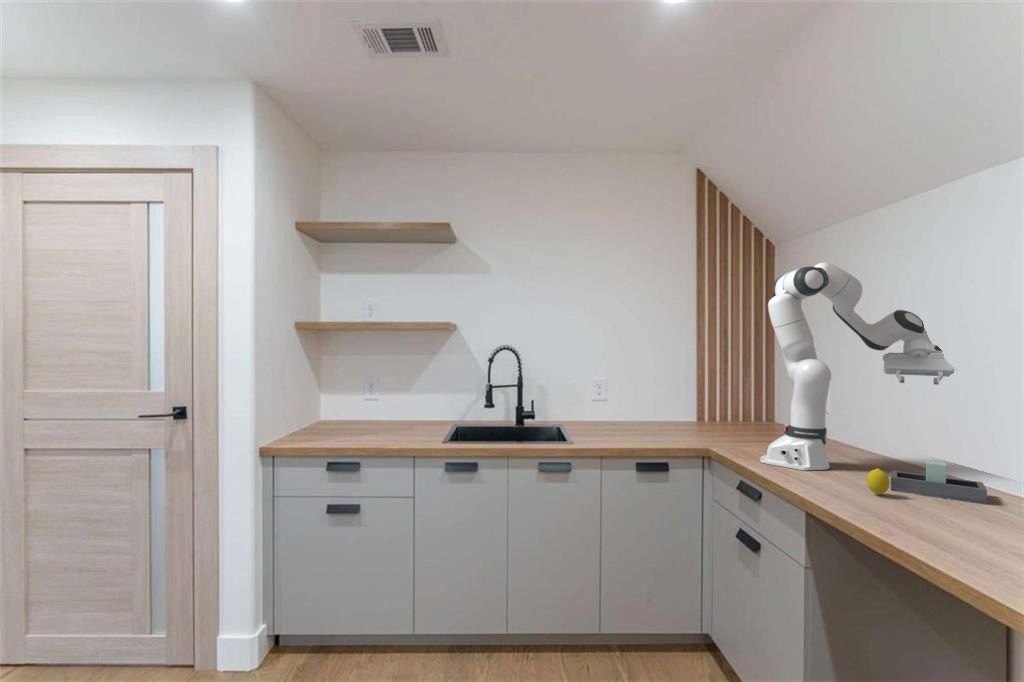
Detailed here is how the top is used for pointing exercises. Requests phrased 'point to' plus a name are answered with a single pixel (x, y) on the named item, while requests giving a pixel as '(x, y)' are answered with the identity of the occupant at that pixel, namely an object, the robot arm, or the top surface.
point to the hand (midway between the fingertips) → (918, 382)
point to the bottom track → (939, 487)
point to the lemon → (878, 481)
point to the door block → (936, 472)
